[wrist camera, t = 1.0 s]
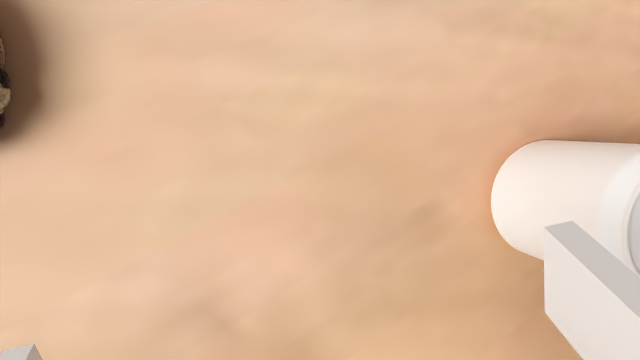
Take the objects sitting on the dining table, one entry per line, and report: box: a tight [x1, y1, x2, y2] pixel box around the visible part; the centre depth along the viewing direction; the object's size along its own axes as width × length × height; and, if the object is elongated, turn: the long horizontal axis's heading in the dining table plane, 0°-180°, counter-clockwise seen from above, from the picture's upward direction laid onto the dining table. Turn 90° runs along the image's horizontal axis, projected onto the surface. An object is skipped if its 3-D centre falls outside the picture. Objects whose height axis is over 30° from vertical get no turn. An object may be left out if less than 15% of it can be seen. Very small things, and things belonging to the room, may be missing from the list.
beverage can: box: [491, 140, 640, 277], centre depth 32 cm, size 8×8×12 cm
